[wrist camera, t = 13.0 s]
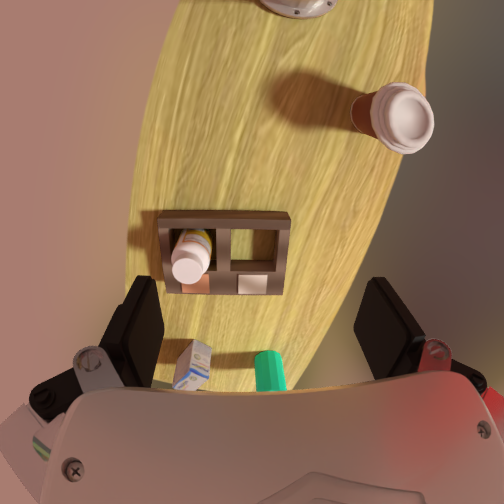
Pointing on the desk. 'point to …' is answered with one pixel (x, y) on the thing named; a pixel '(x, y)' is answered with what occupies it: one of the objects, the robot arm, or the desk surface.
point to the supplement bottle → (191, 255)
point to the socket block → (227, 252)
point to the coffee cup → (394, 117)
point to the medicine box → (192, 367)
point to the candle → (269, 372)
